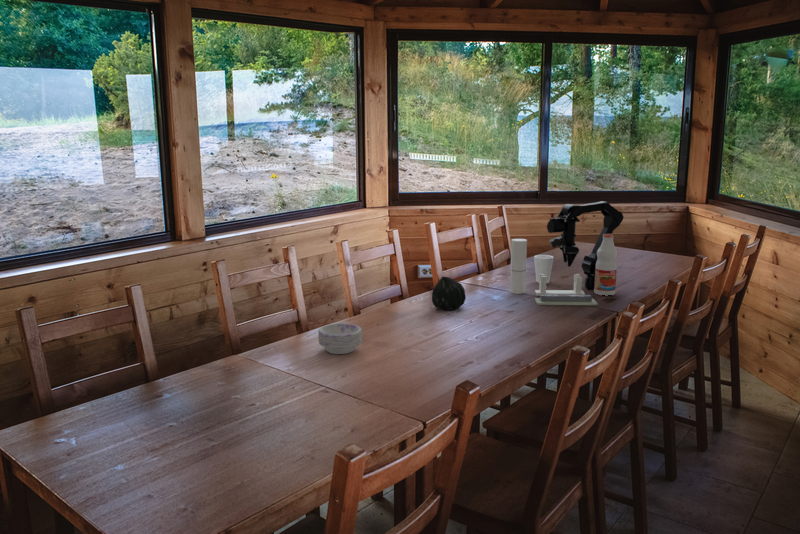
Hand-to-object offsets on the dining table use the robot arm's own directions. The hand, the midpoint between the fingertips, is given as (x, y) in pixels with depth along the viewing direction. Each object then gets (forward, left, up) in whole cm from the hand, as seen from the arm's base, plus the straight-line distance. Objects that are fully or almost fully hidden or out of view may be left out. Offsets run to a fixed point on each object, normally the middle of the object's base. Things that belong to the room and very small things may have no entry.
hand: (567, 264), depth 296 cm
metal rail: (+4, +20, -12) cm, 24 cm away
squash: (+56, +30, -13) cm, 65 cm away
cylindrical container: (+23, +2, -13) cm, 27 cm away
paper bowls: (+95, +84, -13) cm, 127 cm away
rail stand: (+4, +6, -13) cm, 15 cm away
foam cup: (+8, -18, -13) cm, 24 cm away
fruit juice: (-17, +4, -13) cm, 22 cm away
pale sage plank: (+4, +20, -13) cm, 24 cm away
